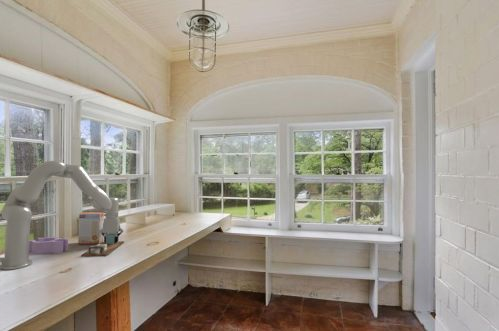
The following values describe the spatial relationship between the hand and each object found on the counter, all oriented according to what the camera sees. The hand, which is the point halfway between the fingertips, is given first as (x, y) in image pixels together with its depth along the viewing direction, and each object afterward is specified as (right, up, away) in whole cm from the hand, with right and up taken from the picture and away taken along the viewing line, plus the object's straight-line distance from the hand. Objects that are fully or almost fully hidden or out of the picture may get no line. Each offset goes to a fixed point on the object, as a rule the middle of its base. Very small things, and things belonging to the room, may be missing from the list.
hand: (111, 242), depth 178 cm
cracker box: (-15, -1, +2) cm, 15 cm away
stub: (0, -1, 0) cm, 0 cm away
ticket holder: (+1, -1, -10) cm, 10 cm away
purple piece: (-30, -1, -16) cm, 34 cm away
